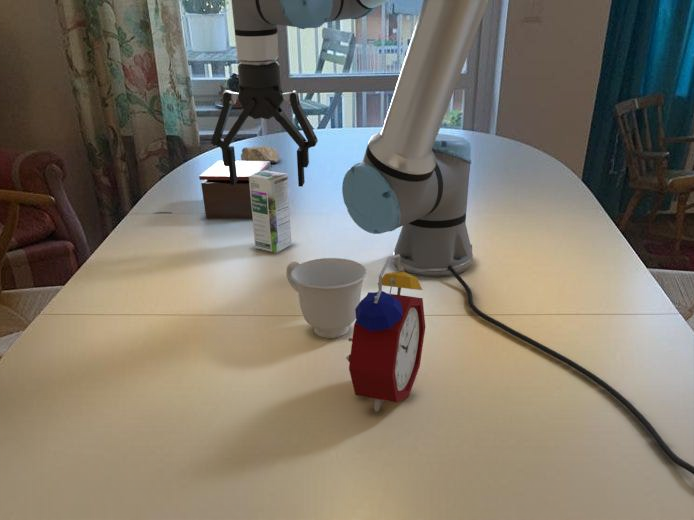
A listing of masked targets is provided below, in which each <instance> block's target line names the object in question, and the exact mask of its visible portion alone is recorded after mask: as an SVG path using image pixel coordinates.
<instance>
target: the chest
mask: <svg viewBox="0 0 694 520" xmlns="http://www.w3.org/2000/svg"><path fill="white" fill-rule="evenodd" d="M271 165H272V164H271ZM271 165H270V166H269V167H268V168H267V169H266V170H268V171H272V166H271ZM200 185H201V192H202V201H203V207H204V213H205V219H208V220H209V219H210V220H211V219H212V220H215V219H216V220H219V219H220V220H253V217H252V206H251V196H250V185H249V180H237V182H236V184H235V185H230V180H202V181H201V183H200Z"/></svg>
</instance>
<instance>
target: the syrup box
mask: <svg viewBox="0 0 694 520" xmlns="http://www.w3.org/2000/svg"><path fill="white" fill-rule="evenodd" d="M249 185H250V196H251V206H252V217H253V219H252V227H253V237H254V238H253V239H254V248H255V250H256V249H257V250H262V251H263V250H264V251H267V252H271V253H274V254H277V253H279V252H281V251H283V250H285V249H287V248H288V247H290V246H292V245H293V243H292V240H293V239H292V224H291V208H290V194H289V193H290V192H289V175H288V173H287V172H286V173H285V172H284V173H283V172H278V171H272V170H271V171H268V170H264V171H259V172H256V173H254V174H252V175H250V176H249Z"/></svg>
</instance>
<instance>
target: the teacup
mask: <svg viewBox="0 0 694 520" xmlns="http://www.w3.org/2000/svg"><path fill="white" fill-rule="evenodd" d="M285 275H286V279H287V281H288V284H289V285H290V287H291V288H292V289H293V290H294V291H295V292H296V293H297V294H298V300H299V305H300V306H299V307H300V309H301V313H302V316H303V319H304V320H305V321H306V323H307V324H308V325H310V326H311V327H312V328H313V333H314V334H315V335H316V336H318V337H320V338H326V339H334V338H341V337H343V336H345V335H346V334H347V333H348V332H349V326H350V325H352V324H353V323H355V321H356V313H355V309H356V307H357V306H358V304H359V303H360V302H361V295H362V287H363V282H364V280H365V278H366V277H367V276H368V269H367V268H366V267H365V266H364V265H363V264H361V263H360V262H357V261H355V260H352V259H346V258H339V257H325V258H323V257H322V258H316V259H311V260H308V261H305V262H302V263H299V262H298V261H292V262H290V263H288V265H287V267H286V270H285Z"/></svg>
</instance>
